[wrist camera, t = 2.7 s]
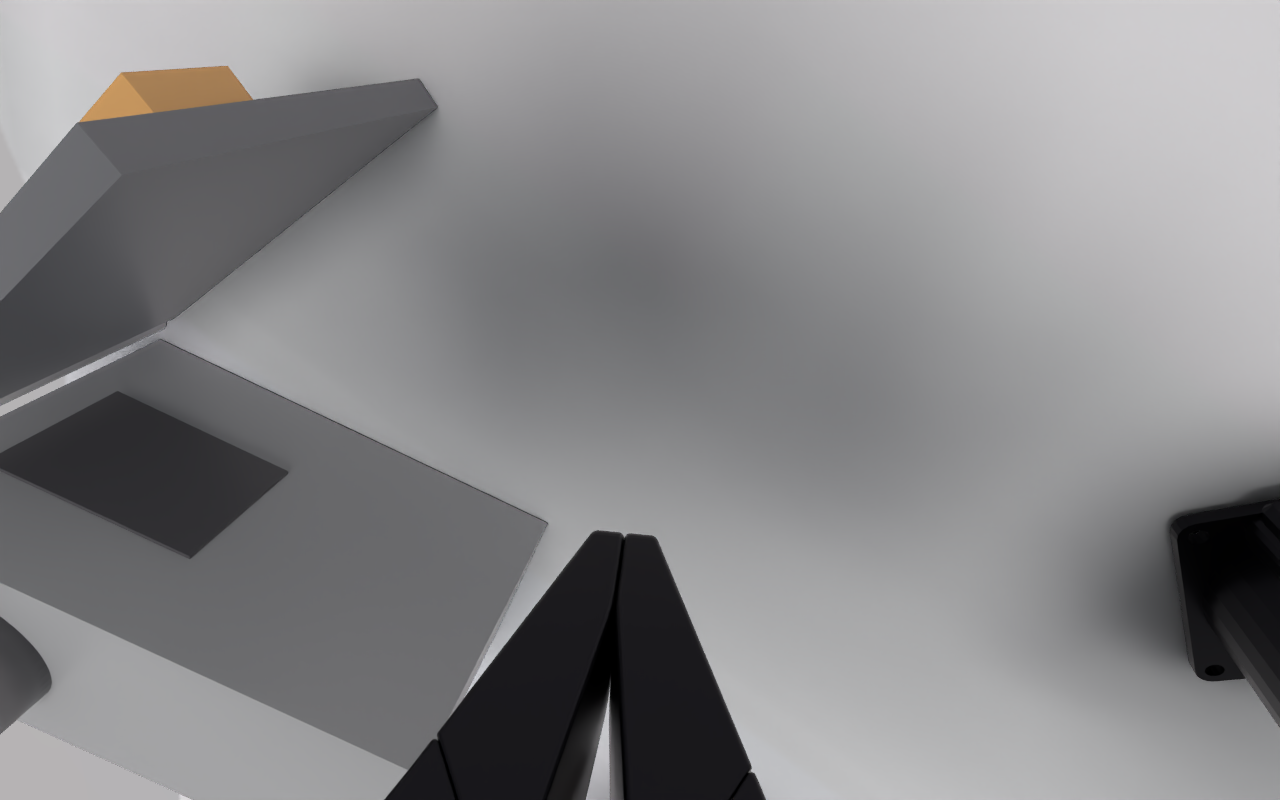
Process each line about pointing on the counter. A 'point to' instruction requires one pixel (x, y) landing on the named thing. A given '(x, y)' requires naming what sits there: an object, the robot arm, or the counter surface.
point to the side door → (169, 205)
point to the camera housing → (238, 584)
